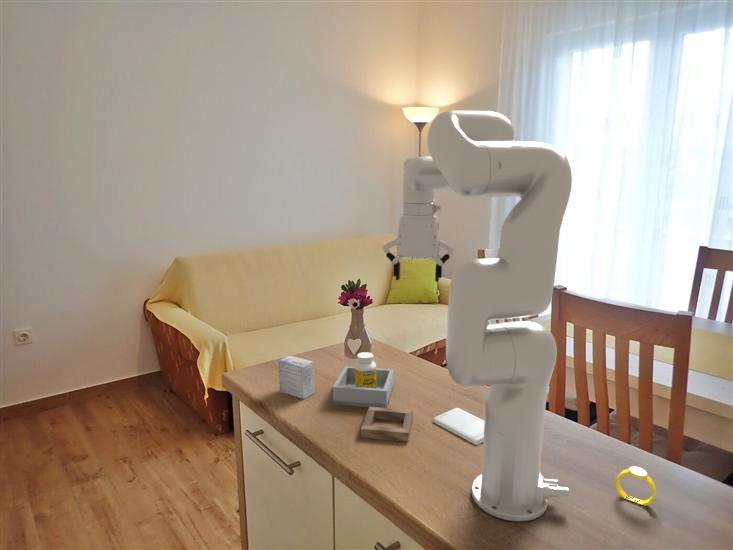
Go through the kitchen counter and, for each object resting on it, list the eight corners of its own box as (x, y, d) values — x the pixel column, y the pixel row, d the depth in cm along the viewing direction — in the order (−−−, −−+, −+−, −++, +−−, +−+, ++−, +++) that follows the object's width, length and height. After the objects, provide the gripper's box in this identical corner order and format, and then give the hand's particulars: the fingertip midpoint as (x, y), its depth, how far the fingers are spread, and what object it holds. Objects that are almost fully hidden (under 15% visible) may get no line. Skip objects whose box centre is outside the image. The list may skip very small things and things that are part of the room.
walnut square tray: (412, 418, 116) (413, 410, 116) (408, 441, 106) (408, 432, 106) (369, 414, 118) (369, 406, 117) (361, 437, 108) (361, 428, 108)
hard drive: (433, 417, 114) (476, 440, 105) (457, 406, 119) (501, 427, 110) (432, 424, 115) (476, 447, 105) (457, 413, 120) (501, 434, 110)
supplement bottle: (368, 384, 131) (368, 349, 129) (380, 392, 127) (380, 355, 125) (350, 390, 128) (350, 353, 126) (362, 398, 124) (362, 360, 122)
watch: (653, 505, 87) (660, 475, 86) (650, 513, 85) (657, 483, 84) (616, 489, 91) (622, 460, 89) (612, 497, 89) (618, 467, 87)
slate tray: (394, 385, 133) (394, 369, 132) (386, 408, 121) (386, 391, 120) (345, 381, 135) (345, 365, 134) (333, 404, 123) (332, 386, 122)
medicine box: (314, 393, 129) (314, 361, 127) (303, 400, 125) (302, 367, 123) (290, 386, 133) (289, 354, 131) (279, 392, 129) (277, 360, 127)
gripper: (455, 209, 125) (453, 277, 128) (385, 208, 128) (384, 275, 132) (455, 212, 118) (452, 284, 121) (380, 211, 121) (380, 282, 124)
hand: (417, 279), depth 126 cm, fingers open, 9 cm apart
